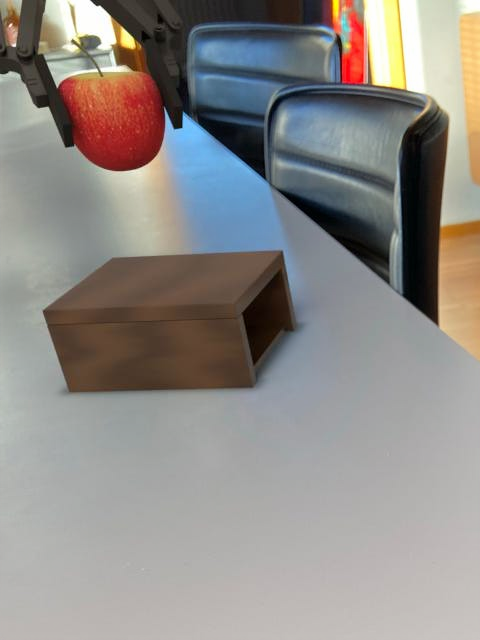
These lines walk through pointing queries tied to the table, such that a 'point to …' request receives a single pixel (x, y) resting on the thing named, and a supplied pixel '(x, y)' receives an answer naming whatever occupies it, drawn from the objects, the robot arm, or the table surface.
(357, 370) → the table surface
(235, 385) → the shelf
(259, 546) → the table surface
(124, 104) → the apple
